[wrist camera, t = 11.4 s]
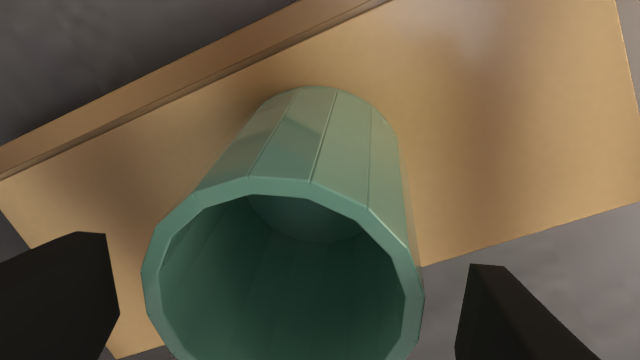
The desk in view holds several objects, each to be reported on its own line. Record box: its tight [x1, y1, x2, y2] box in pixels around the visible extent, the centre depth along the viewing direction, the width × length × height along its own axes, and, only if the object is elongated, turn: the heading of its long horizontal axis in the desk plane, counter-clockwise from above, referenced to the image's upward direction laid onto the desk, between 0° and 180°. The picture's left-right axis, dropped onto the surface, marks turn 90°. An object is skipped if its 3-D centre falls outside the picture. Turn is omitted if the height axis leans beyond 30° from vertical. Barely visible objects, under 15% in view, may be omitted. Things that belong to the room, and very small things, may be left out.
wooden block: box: [0, 0, 640, 359], centre depth 16 cm, size 20×9×3 cm, turn 115°
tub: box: [140, 86, 425, 360], centre depth 12 cm, size 5×5×6 cm
